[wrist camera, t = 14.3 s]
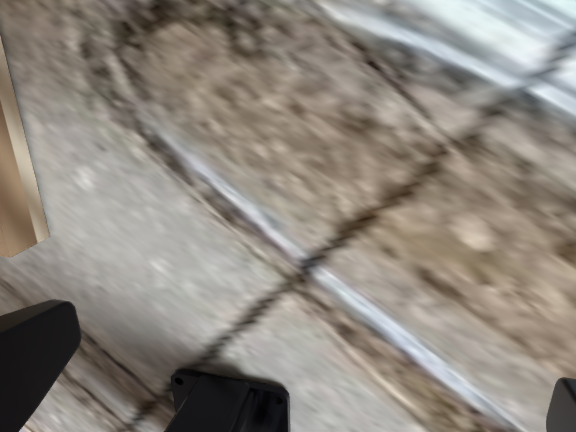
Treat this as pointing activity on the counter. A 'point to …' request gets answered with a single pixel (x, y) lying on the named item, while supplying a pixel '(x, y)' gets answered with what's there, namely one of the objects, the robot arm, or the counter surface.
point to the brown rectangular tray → (16, 177)
